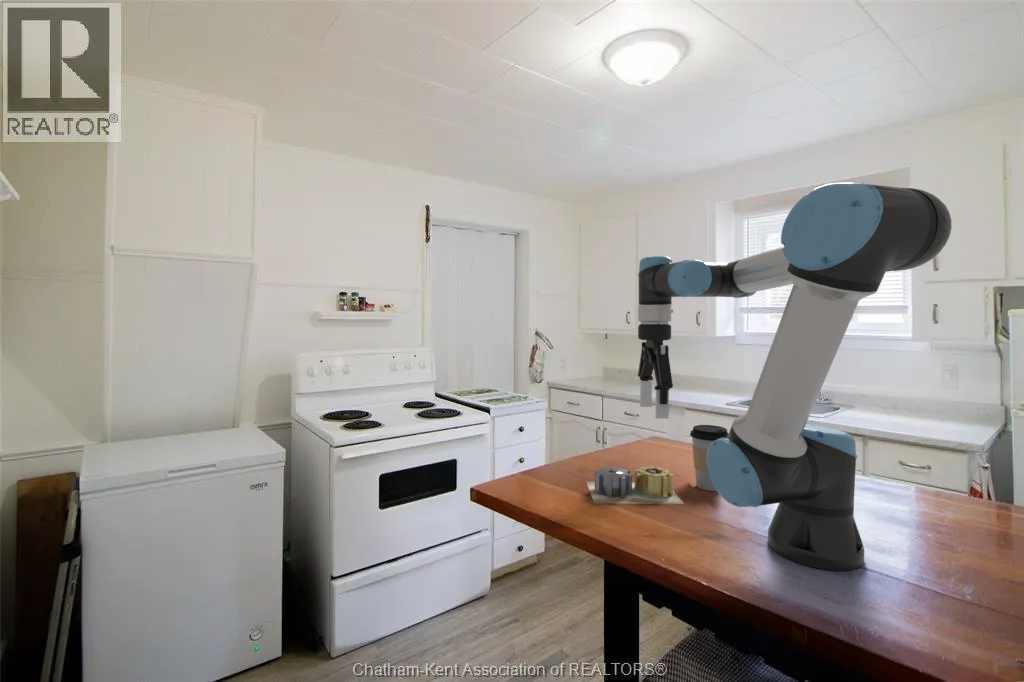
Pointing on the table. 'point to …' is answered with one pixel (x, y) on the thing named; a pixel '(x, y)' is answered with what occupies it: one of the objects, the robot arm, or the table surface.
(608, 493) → the gear
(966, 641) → the table surface
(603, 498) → the gear board
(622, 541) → the table surface
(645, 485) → the gear
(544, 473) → the table surface
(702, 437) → the coffee cup
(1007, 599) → the table surface
